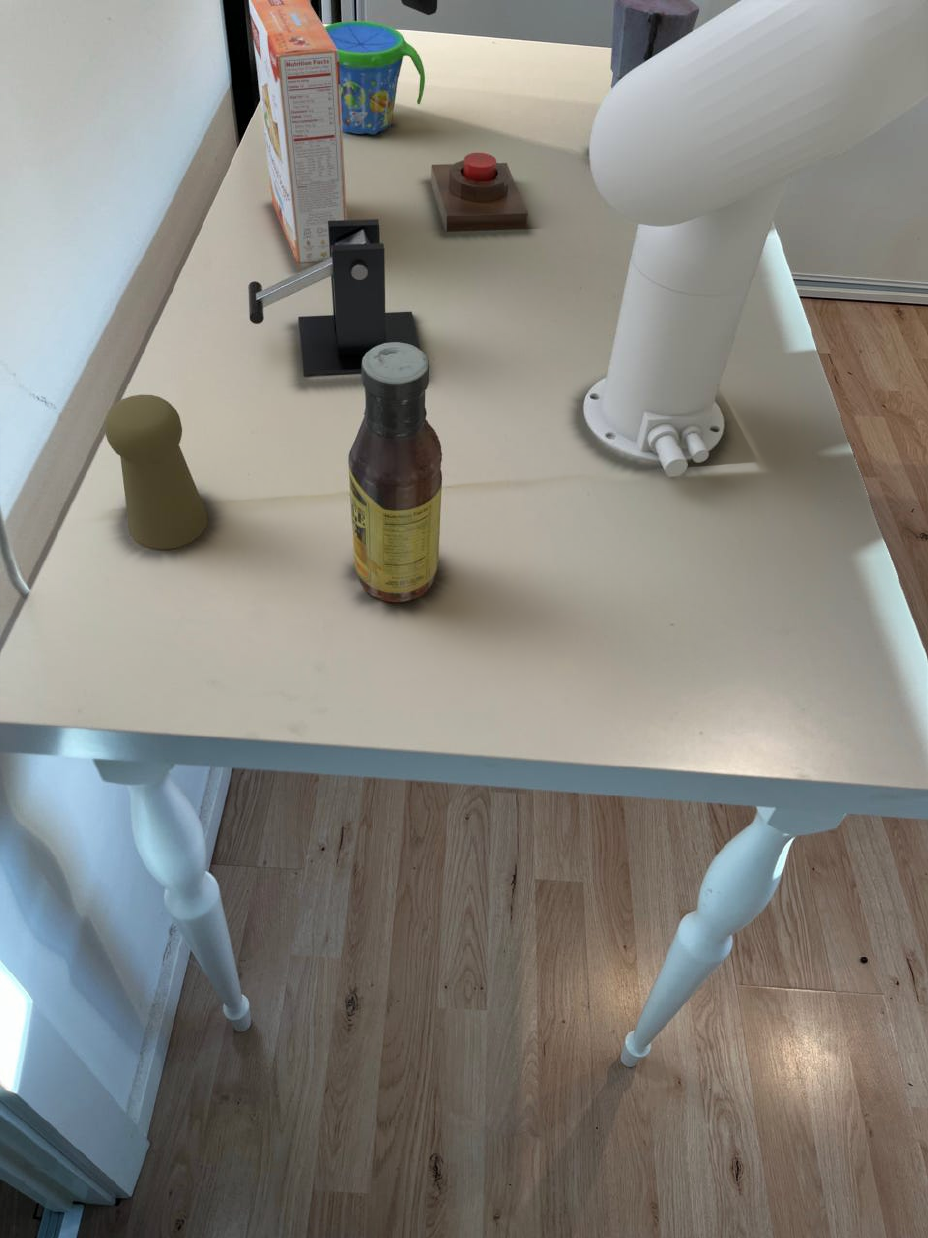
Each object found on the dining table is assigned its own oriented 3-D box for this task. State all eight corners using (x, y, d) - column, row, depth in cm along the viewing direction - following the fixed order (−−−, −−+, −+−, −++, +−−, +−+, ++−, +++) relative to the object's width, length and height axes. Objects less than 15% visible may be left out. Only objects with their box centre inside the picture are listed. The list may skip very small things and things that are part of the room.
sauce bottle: (362, 543, 73) (353, 318, 58) (442, 551, 73) (453, 329, 58) (347, 606, 69) (332, 383, 54) (431, 616, 69) (440, 394, 54)
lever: (257, 331, 83) (243, 310, 81) (256, 300, 86) (242, 278, 84) (379, 273, 81) (367, 250, 79) (373, 243, 84) (361, 220, 82)
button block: (525, 232, 105) (529, 197, 102) (446, 234, 104) (447, 199, 101) (505, 180, 113) (508, 146, 110) (431, 182, 111) (431, 148, 108)
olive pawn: (207, 492, 76) (183, 379, 68) (207, 546, 72) (182, 433, 64) (130, 498, 75) (96, 384, 67) (126, 552, 72) (89, 439, 63)
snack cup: (431, 115, 123) (433, 28, 115) (412, 151, 116) (413, 61, 109) (316, 99, 125) (311, 12, 117) (291, 133, 118) (283, 43, 110)
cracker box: (269, 206, 106) (245, -7, 90) (321, 201, 107) (308, -10, 91) (294, 272, 98) (273, 50, 81) (351, 265, 99) (341, 45, 83)
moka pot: (664, 138, 122) (702, -42, 107) (669, 195, 113) (711, 5, 97) (591, 131, 123) (618, -50, 107) (589, 187, 113) (619, -4, 97)
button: (497, 182, 105) (499, 166, 103) (465, 183, 104) (466, 167, 103) (491, 167, 107) (493, 151, 106) (460, 168, 106) (461, 152, 105)
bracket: (304, 384, 86) (293, 264, 77) (299, 328, 91) (287, 210, 82) (424, 377, 87) (426, 259, 78) (411, 322, 93) (412, 206, 84)
